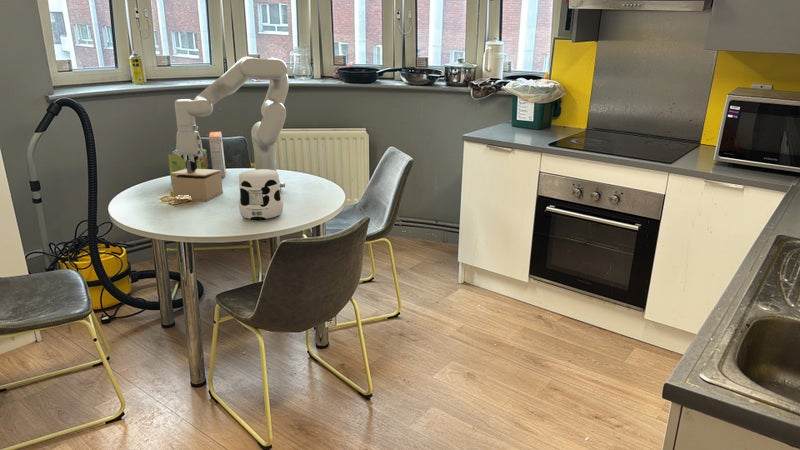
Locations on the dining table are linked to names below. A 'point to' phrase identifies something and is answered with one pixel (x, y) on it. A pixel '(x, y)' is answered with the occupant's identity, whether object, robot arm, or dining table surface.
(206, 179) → the carton
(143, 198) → the dining table surface
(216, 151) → the cracker box
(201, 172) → the lid flap
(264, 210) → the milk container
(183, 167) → the protein box
